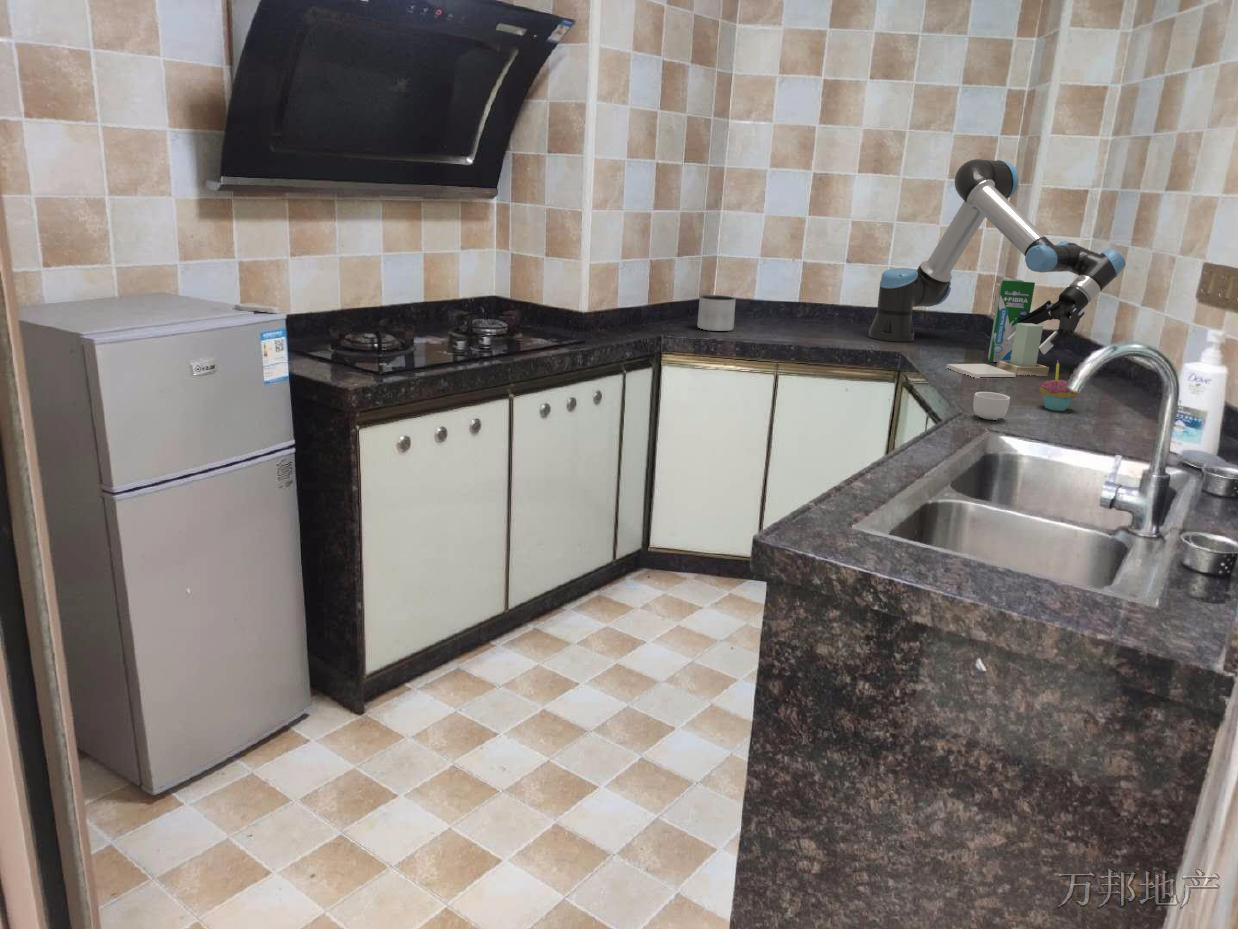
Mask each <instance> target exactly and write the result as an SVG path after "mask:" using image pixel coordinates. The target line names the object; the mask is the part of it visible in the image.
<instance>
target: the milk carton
mask: <svg viewBox="0 0 1238 929" xmlns="http://www.w3.org/2000/svg"><path fill="white" fill-rule="evenodd" d="M1035 285H1036V282H1033V281H1025V280H1021V279H1010V280H1006V279H1005V280H1004V279H1003V280H1001V282H1000V285H999V287H998V288H999V289H998V295H997V300H996V308H995V312H994V319H993V324H992V329H991V330H992V331H991V337H990V343H989V350H988V354H987V358H988V363H991V362H997V361H1010V360H1011V354H1012V348H1013V346H1012V345H1011V344H1010V342H1009V341H1008V338H1009V337H1010V336H1011V335H1012V334H1013V333H1014V332H1015V330H1016V325H1017V323H1021V322H1020V321H1019V320H1020V319H1021V318H1022V317H1024V316H1026V315H1027V314H1029V313H1031V307H1032V301H1033V297H1034V290H1035Z"/></svg>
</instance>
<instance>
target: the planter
mask: <svg viewBox="0 0 1238 929" xmlns="http://www.w3.org/2000/svg"><path fill="white" fill-rule="evenodd" d="M735 311H736V297H734V296H728V295H718V294H704V295H703V294H702V295H700V296H699V302H698V314H697V324H696V325H697V328H698V329H699V328H700V329H699V330H701V329H703V330H702V331H705V330H707V331H706V332H711V331H728V332H731V331H733V330H734V328H735V325H734V324H735V313H736V312H735Z"/></svg>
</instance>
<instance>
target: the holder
mask: <svg viewBox="0 0 1238 929" xmlns="http://www.w3.org/2000/svg"><path fill="white" fill-rule="evenodd" d="M995 367H997V368H1000V369H1003V370H1006V371H1009V372H1012V373H1015V374H1016V375H1024V376H1023V377H1028V376H1027V375H1030V376H1029V377H1032V376H1031V375H1036V376H1035V377H1048V376H1049V371H1050V367H1049V366H1046V365H1043V364H1039V363H1036V367H1019V366H1016V365H1012V364H1010V361H997V363H996V366H995ZM1025 375H1026V376H1025Z"/></svg>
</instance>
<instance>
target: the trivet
mask: <svg viewBox="0 0 1238 929" xmlns="http://www.w3.org/2000/svg"><path fill="white" fill-rule="evenodd" d="M947 368H949V369H948V370H950V369H951V371H953V370H954V372H956V373H959V374H961V375H964V374H966V375H965V376H967V375H969V376H968V377H970V376H971V377H970V378H973V377H975V378H974V379H981V378H980V377H1015V378H1016V377H1017V376H1016V374H1015V373H1012V372H1009V371H1006V370H1003V369H1000V368H997V367H996V366H993V365H991V364H987V363H947V364H946V369H947Z"/></svg>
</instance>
